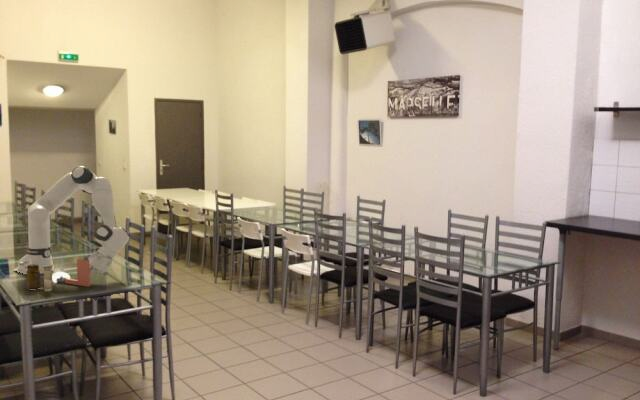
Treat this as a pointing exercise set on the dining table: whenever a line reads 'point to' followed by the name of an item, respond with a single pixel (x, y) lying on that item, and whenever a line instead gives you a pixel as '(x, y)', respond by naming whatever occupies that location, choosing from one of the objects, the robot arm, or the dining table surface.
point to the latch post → (48, 277)
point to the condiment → (33, 277)
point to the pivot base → (61, 280)
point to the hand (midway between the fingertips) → (88, 275)
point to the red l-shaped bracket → (81, 273)
